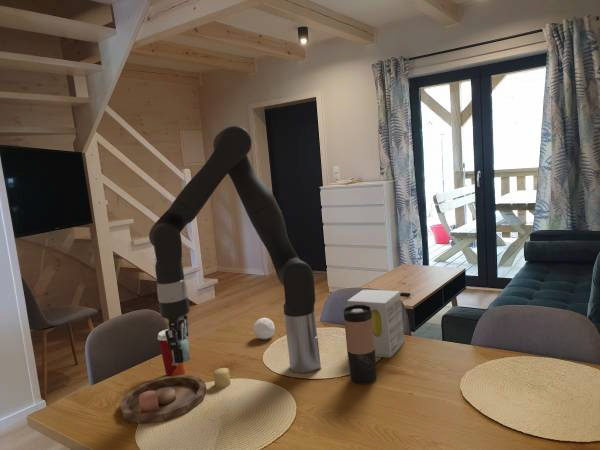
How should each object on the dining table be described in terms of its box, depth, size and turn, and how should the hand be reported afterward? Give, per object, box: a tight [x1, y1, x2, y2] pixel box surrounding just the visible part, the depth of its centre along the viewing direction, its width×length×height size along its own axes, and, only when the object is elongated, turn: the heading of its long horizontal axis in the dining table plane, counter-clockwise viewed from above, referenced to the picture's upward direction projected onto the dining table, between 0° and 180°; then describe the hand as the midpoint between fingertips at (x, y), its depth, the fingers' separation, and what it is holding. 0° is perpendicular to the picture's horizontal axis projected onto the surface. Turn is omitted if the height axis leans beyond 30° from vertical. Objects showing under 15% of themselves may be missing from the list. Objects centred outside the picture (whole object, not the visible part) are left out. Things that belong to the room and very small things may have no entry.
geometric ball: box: [252, 317, 275, 341], centre depth 164 cm, size 8×8×8 cm
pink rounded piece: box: [139, 391, 159, 413], centre depth 117 cm, size 4×4×5 cm
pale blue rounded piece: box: [172, 338, 191, 363], centre depth 121 cm, size 4×4×5 cm
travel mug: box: [343, 305, 378, 385], centre depth 124 cm, size 8×8×20 cm
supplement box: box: [347, 289, 405, 359], centre depth 144 cm, size 13×13×18 cm
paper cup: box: [157, 328, 186, 377], centre depth 141 cm, size 8×8×14 cm
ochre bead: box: [213, 367, 231, 389], centre depth 129 cm, size 4×4×5 cm
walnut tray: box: [119, 374, 208, 425], centre depth 123 cm, size 22×22×3 cm
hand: (181, 358), depth 122 cm, fingers closed on pale blue rounded piece, 4 cm apart
